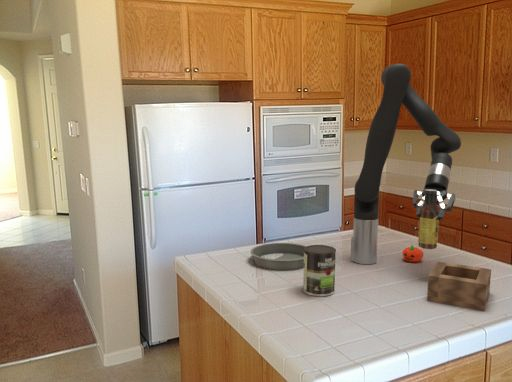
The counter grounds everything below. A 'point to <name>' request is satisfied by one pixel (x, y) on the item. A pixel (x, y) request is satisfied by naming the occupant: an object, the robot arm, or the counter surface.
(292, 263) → the cake pan
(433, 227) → the sauce bottle
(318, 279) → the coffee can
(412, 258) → the pumpkin
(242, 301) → the counter surface
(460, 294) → the bottle block
